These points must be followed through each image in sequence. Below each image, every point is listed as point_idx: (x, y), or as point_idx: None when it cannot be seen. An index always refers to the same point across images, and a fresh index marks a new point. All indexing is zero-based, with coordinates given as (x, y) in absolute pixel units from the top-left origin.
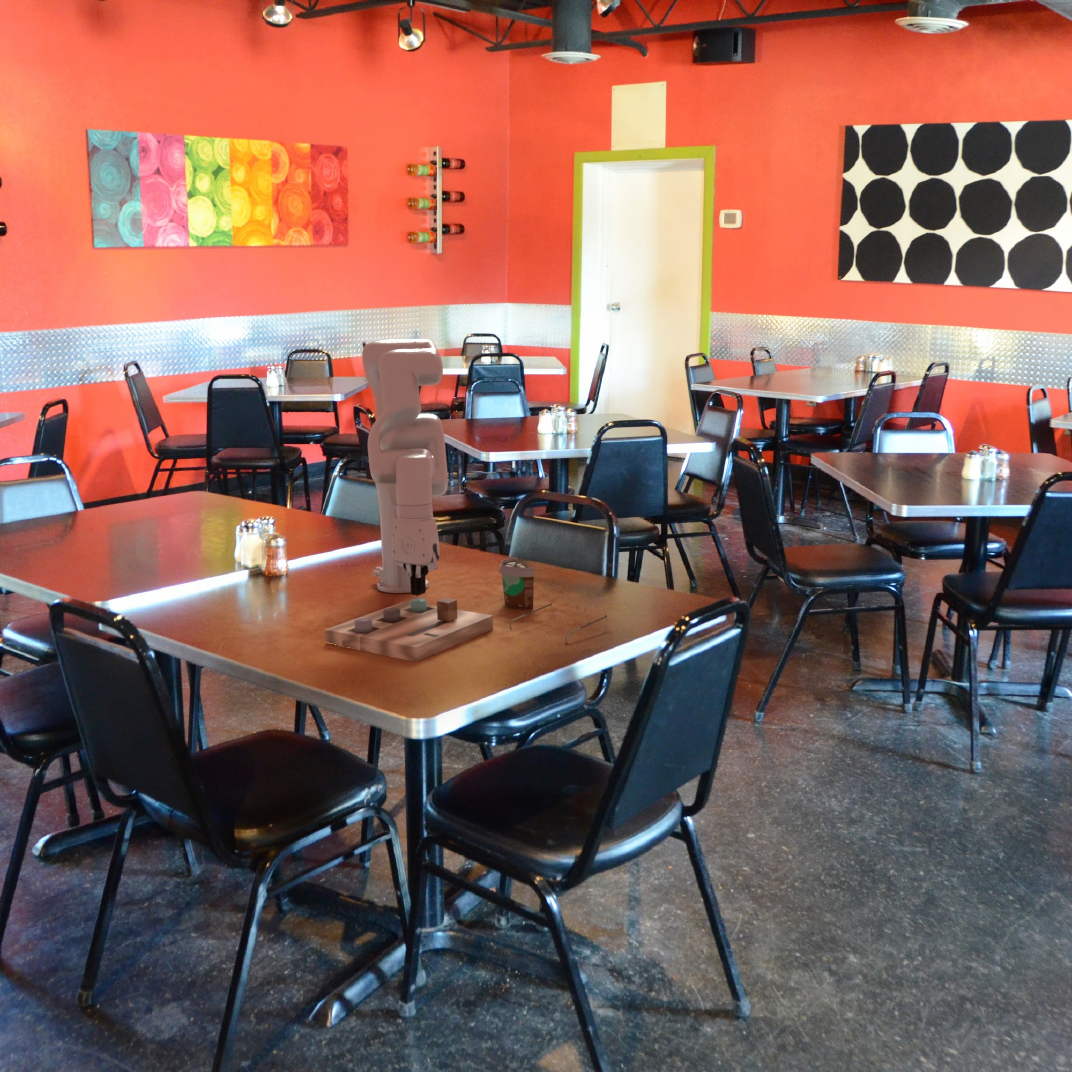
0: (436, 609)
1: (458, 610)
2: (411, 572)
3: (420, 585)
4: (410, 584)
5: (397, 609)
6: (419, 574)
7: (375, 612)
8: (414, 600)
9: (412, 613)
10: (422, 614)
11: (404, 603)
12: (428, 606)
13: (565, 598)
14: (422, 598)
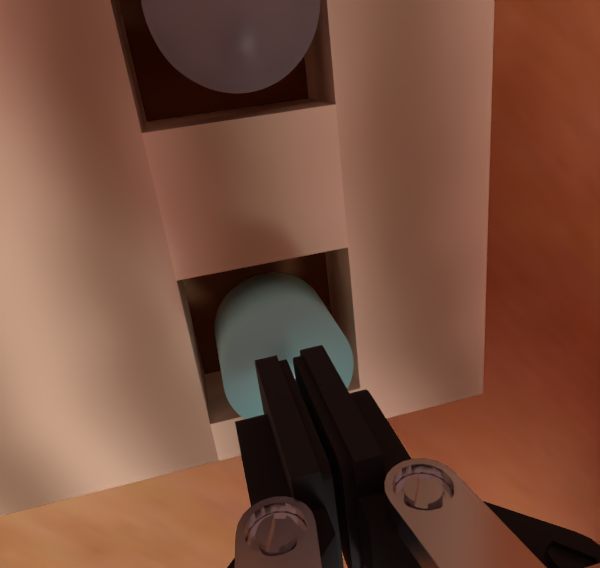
0: (174, 413)
1: (33, 496)
2: (402, 520)
3: (247, 453)
4: (383, 415)
5: (206, 57)
6: (248, 550)
7: (477, 70)
8: None
9: (227, 242)
10: (143, 274)
11: (452, 356)
12: None
13: None
14: None
